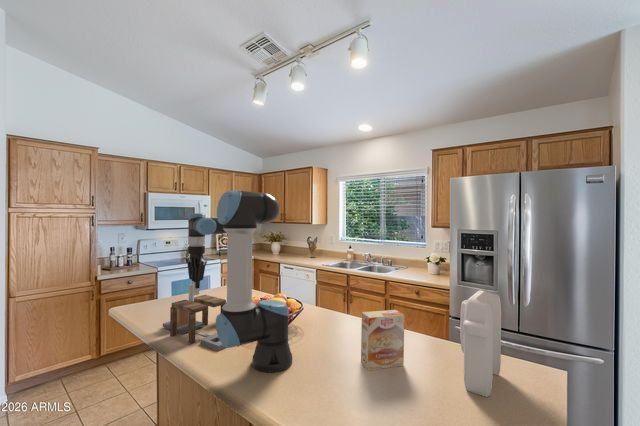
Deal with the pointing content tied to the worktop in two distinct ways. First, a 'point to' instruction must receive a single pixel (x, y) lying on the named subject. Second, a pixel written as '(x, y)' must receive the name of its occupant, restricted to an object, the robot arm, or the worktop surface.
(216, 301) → the wooden rack
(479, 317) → the white upright slab
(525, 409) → the worktop surface
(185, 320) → the white lever handle
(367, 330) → the coffeecake box
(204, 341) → the pit plate
